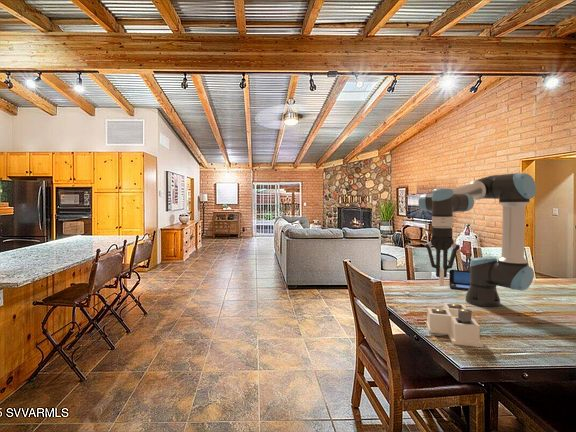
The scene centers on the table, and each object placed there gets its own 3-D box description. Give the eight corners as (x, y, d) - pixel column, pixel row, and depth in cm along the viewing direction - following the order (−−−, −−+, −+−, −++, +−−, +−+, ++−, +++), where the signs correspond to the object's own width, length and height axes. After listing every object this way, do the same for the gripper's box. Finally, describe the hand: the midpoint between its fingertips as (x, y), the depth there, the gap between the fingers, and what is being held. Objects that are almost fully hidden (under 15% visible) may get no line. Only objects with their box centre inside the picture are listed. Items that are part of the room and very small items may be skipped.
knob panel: (465, 320, 139) (465, 303, 138) (483, 347, 113) (483, 327, 112) (424, 316, 144) (424, 300, 143) (432, 341, 118) (432, 322, 118)
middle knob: (444, 323, 131) (444, 308, 130) (445, 327, 127) (446, 312, 126) (432, 322, 132) (432, 307, 132) (434, 326, 128) (434, 311, 128)
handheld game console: (449, 289, 187) (450, 273, 186) (448, 283, 199) (449, 269, 198) (480, 292, 180) (481, 276, 180) (477, 286, 192) (478, 271, 192)
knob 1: (459, 317, 137) (459, 303, 136) (462, 321, 132) (462, 307, 132) (448, 316, 138) (448, 302, 138) (450, 320, 134) (450, 306, 133)
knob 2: (469, 324, 120) (470, 308, 120) (472, 329, 116) (473, 312, 116) (456, 323, 122) (457, 307, 121) (459, 327, 117) (459, 311, 117)
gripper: (425, 227, 125) (424, 286, 126) (462, 228, 121) (461, 288, 122) (423, 226, 132) (422, 281, 133) (458, 226, 128) (457, 283, 129)
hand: (441, 285), depth 128 cm, fingers closed
